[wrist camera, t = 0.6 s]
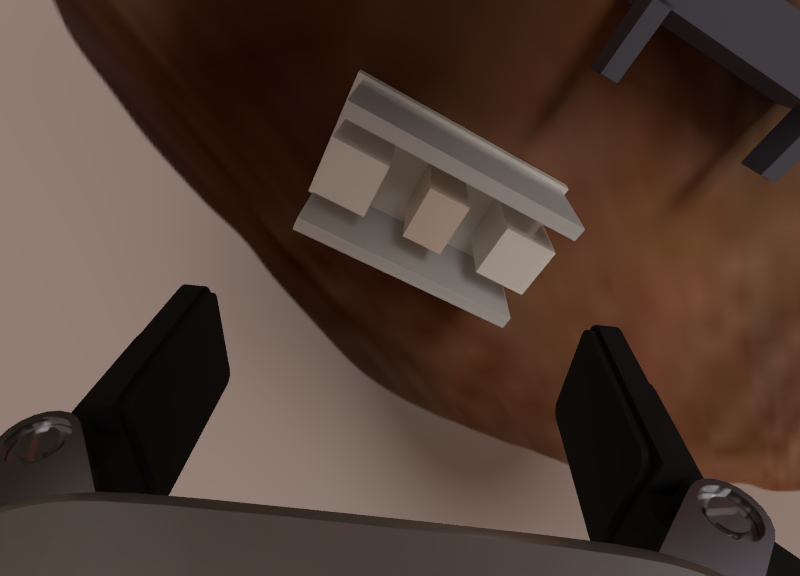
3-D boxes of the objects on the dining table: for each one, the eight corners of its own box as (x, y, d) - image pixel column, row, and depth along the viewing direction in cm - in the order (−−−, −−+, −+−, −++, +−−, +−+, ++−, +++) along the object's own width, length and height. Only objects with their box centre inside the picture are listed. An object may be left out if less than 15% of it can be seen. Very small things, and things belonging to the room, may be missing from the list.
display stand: (360, 69, 33) (341, 90, 26) (565, 184, 37) (594, 229, 30) (310, 186, 38) (284, 229, 31) (495, 277, 42) (506, 333, 35)
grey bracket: (651, -56, 28) (697, -65, 23) (813, 61, 31) (886, 75, 26) (575, 59, 32) (600, 73, 27) (726, 154, 35) (774, 183, 30)
